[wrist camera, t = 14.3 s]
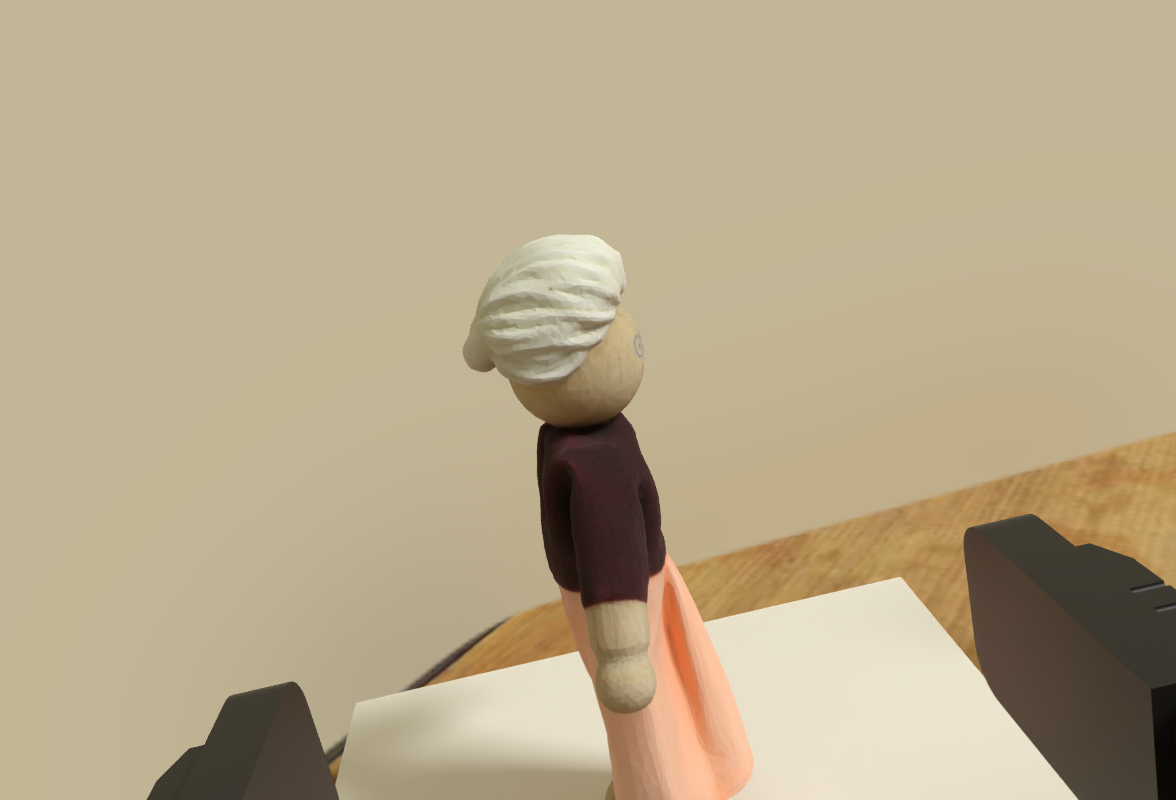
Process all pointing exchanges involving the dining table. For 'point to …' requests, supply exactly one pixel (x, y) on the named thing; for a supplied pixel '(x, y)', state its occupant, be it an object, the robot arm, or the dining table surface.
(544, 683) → the stone slab
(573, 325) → the grandmother figurine
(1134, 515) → the dining table surface
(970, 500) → the dining table surface
